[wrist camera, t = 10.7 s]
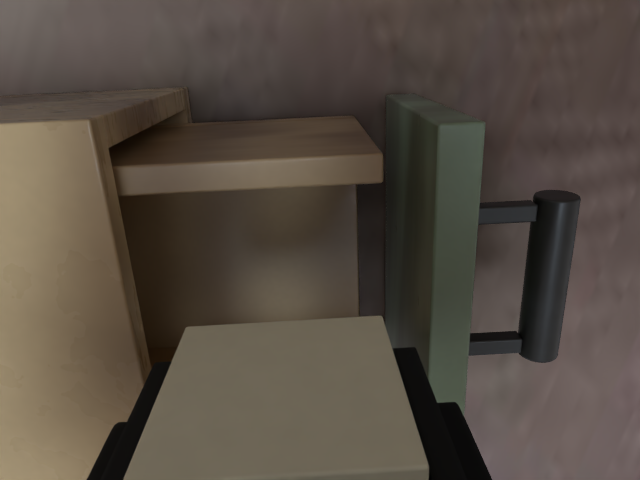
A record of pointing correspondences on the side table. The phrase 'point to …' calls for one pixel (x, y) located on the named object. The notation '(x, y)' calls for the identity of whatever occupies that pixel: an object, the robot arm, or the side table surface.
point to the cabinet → (68, 277)
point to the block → (282, 406)
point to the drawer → (333, 231)
